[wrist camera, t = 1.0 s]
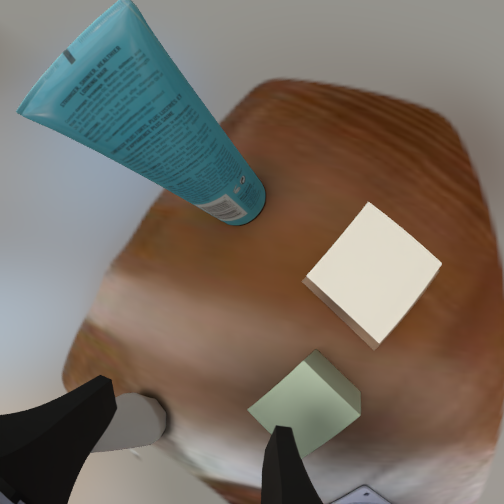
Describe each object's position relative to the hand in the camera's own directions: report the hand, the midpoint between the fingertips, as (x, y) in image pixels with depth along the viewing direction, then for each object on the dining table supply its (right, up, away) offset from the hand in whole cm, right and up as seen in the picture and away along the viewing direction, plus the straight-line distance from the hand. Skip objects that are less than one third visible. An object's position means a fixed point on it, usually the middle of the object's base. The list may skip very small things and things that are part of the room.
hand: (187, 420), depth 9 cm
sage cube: (+8, -4, +9) cm, 12 cm away
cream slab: (+11, +5, +7) cm, 14 cm away
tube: (+2, +12, +15) cm, 19 cm away
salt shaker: (-8, -10, +14) cm, 18 cm away
